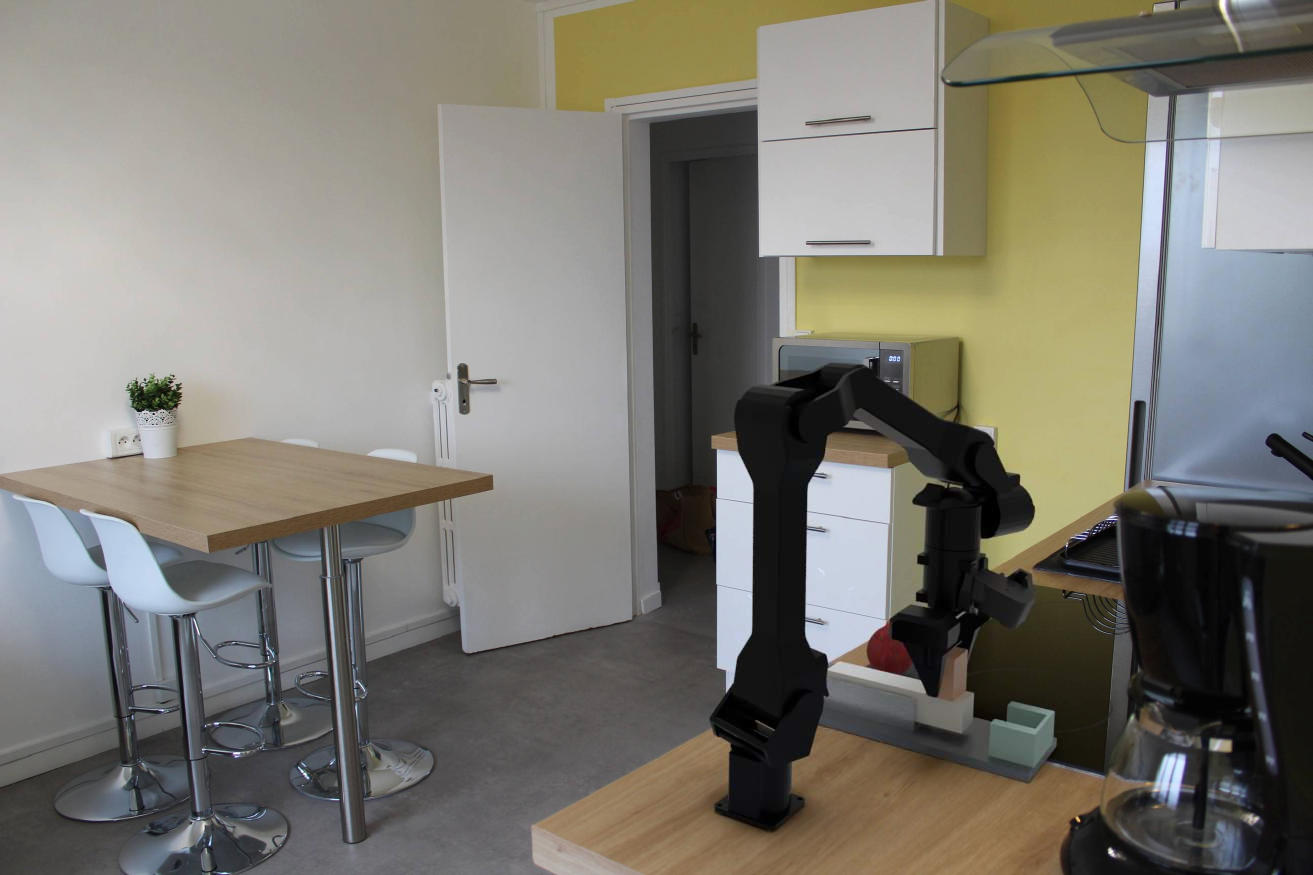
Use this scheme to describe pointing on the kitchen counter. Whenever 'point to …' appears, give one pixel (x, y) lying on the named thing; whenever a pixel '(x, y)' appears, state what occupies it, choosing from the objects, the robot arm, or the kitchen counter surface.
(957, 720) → the sliding bolt
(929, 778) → the kitchen counter surface
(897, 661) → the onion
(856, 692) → the frame
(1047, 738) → the socket
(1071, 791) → the kitchen counter surface
